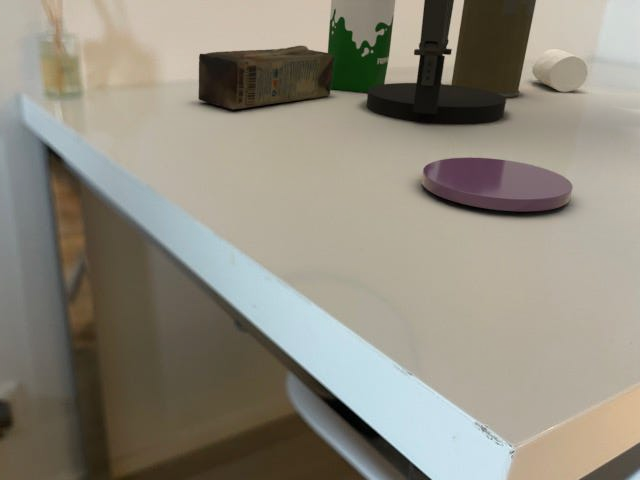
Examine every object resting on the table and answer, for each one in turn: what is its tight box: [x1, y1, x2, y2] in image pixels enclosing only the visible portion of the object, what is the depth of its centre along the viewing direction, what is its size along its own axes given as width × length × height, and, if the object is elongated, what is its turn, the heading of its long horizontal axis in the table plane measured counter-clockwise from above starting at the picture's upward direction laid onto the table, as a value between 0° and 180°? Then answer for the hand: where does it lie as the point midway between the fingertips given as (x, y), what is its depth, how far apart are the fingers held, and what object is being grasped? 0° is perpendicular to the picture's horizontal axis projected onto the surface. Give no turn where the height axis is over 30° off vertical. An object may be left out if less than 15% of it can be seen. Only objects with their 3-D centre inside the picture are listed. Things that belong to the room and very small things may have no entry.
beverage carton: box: [198, 45, 334, 110], centre depth 90 cm, size 8×19×7 cm, turn 133°
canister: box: [450, 0, 537, 99], centre depth 98 cm, size 11×10×20 cm
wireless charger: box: [366, 82, 507, 125], centre depth 88 cm, size 18×18×2 cm
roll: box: [531, 48, 589, 93], centre depth 108 cm, size 6×12×6 cm, turn 177°
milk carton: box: [327, 0, 396, 94], centre depth 98 cm, size 9×9×20 cm
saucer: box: [421, 157, 573, 212], centre depth 56 cm, size 12×12×1 cm
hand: (424, 112), depth 80 cm, fingers closed
